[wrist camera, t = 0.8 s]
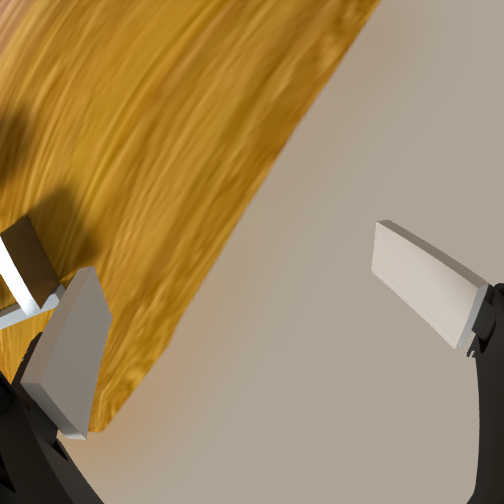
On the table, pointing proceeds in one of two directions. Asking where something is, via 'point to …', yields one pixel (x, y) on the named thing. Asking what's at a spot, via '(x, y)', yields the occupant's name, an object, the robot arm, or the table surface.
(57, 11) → the table surface
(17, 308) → the back rail
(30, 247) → the block
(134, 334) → the table surface
